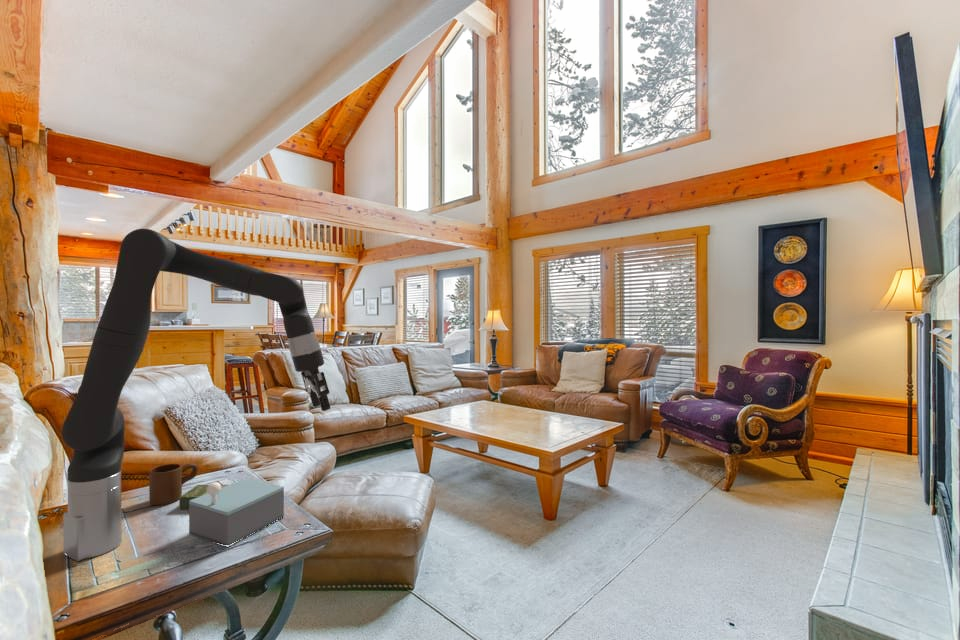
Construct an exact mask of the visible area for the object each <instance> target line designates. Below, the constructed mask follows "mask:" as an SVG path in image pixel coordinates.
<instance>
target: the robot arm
mask: <svg viewBox="0 0 960 640" xmlns="http://www.w3.org/2000/svg"><path fill="white" fill-rule="evenodd" d="M118 252H119V253H118V258H117V263H116V264H117V265H116V269H115V274H114V279H113V283H112V286H111V288H110V291H109V294H108V297H107V299H106V301H105V305H104V307H103V311H102V314H101V317H100V319H99V321H98V324H97V327H96V330H95V333H94V336H93V339H92V342H91V347H90V350H89V353H88V357H87V360H86V364H85V367H84V373H83V377H82V378H81V379H82V380H81V382H80V383H81V384H80V386H79V389H78V391H77V394H76V396H75V399H74V400H73V402H72V404H71V407H70V409H69V411H68V413H67V415H66V417H65V420H64V422H63V423H62V427H61V439H62V440H63V442H64V443H65V445H66V446H67V447H68V448H70V449H71V450H73V453H72V458H71V460H70V463H69V464H68V467H67V511H66V512H64V513H63V516H62V517H63V520H62V525H63V532H62V533H63V554H64V553H66V554H67V555H69V556H70V557H71V558H70V557H69V558H70V559H72V560H74V561H76V562H79V561H82V560H85V559H89V558H94V557H98V556H101V555H104V554H106V553H108V552H111V551H112V550H114V549H116V548H117V547H118V546H120V544H121V543H122V537H123V531H122V530H123V529H122V528H123V527H122V462H123V458H124V454H125V431H126V430H125V418H124V415H123V411H122V410H120V408H119V407H118V405H119V401H120V397H121V394H122V392H123V389H124V387H125V385H126V383H127V382H128V380H129V377H130V376H131V374H132V373H133V371H134V369H135V368H136V366H137V364H138V362H139V360H140V358H141V356H142V353H143V351H144V349H145V345H146V342H147V339H148V336H149V331H150V327H151V318H152V314H151V313H152V294H153V290H154V287H155V285H156V284H155V283H156V281H157V278H158V276H159V274H160V272H165V273H173V274H180V275H184V276H190V277H194V278H197V279H200V280H204V281H206V282H209V283H212V284H215V285H217V286H220V287H224V288H226V289H229V290H233V291H235V292H240V293H243V294H247V295H250V296H255V297H261V298H265V299H268V300H270V301H273V302H275V303H276V302H277V304H278V307H279V308H280V309H279V310H280V312H281V316H282V319H283V320H282V321H283V326H284V327H283V328H284V330H285V331H284V332H285V334H286V337H287V343H288V349H289V351H290V357H291V359H292V363H293V366H294V369H295V372H298V373H299V372H300V374H301V377H302V382H303V386H304V388H305V389H304V390H305V391H306V392H307V394H308V395H309V397H310V401H311V404H312V407H313V408H317V407H319V406H320V409H321V411H323V412H326V411H329V410H331V404H330V401H329V396H328V395H329V394H330V390H329V386H328V383H327V379H326V376H325V373H324V371H320V370H319V367H322V366H323V365H324V364H325V359H324V356H323V352H322V348H321V345H320V342H319V338H318V336H317V334H316V332H315V331H316V330H315V327H314V323H313V319H312V318H311V315H310V313H309V310H308V307H307V302H306V298H305V291H304V287H303V285H302V284H301V283H300V281H299V280H297V279H294V278H292V277H289V276H284V275H280V274H277V273H274V272H273V273H272V272H268V271H265V270H262V269H260V268H257V267H254V266H251V265H248V264H244V263H242V262H237V261H234V260H230V259H225V258H220V257H215V256H211V255H208V254H205V253H201V252H199V251H198V252H197V251H195V250H192V249H189V248H187V247H185V246H183V245H181V244H178V243H176V242H174V241H172V240H170V238H168V237H167V236H165V235H164V234H162V233H160V232H157V231H156V230H153V229H150V228H137V229H135V230H131V231H130V232H128V233H127V234H126V235H125V236H124V238H123V239H122V241H121V244H120V247H119V251H118Z"/></svg>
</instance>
